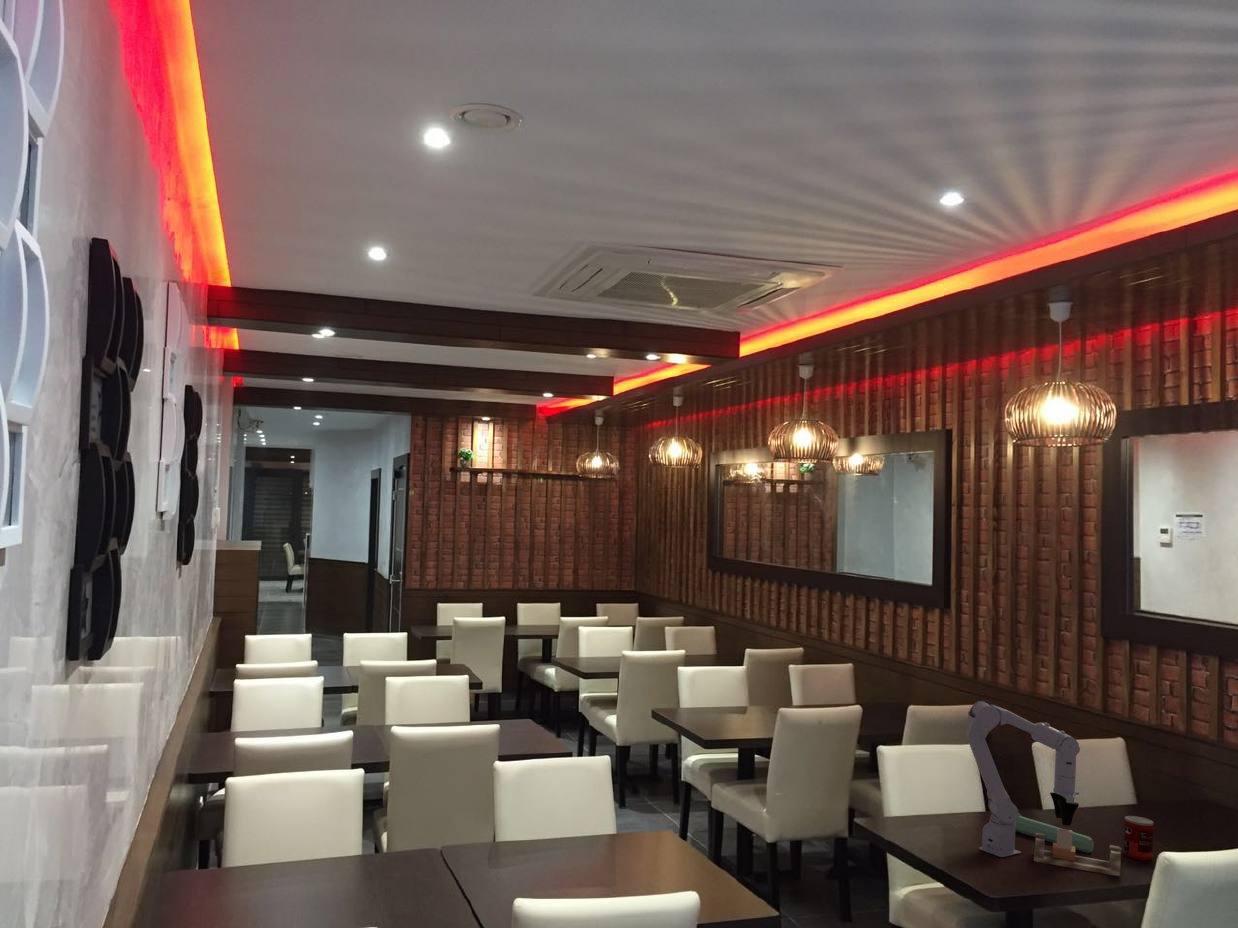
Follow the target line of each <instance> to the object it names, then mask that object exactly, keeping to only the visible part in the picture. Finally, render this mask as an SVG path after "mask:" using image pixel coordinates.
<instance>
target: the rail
mask: <svg viewBox="0 0 1238 928" xmlns="http://www.w3.org/2000/svg"><path fill="white" fill-rule="evenodd" d="M1034 838H1035V849H1034V853H1033V862H1036V863H1043V864H1048V865H1053V866H1054V865H1055V866H1060V867H1065V868H1071V869H1076V870H1083V871H1087V872H1094V873H1099V874H1105V875H1109V876H1116V877H1121V863H1122V862H1121V861H1122V860H1121V857H1122V856H1121V852H1122V850H1123V848H1122V847H1120V846H1117V845H1113V844H1110V845H1109V846H1108V847H1109V860H1102V859H1099V858H1098V859H1097V858H1093V857H1092V858H1091V857H1086V856H1080V855H1075V861H1072V860H1066V859H1061V858H1055V857H1053V850H1052V851H1051V850H1047V849H1045V841H1046V840H1045V838H1046V835H1045V834H1041V833H1036V834H1035V837H1034Z"/></svg>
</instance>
